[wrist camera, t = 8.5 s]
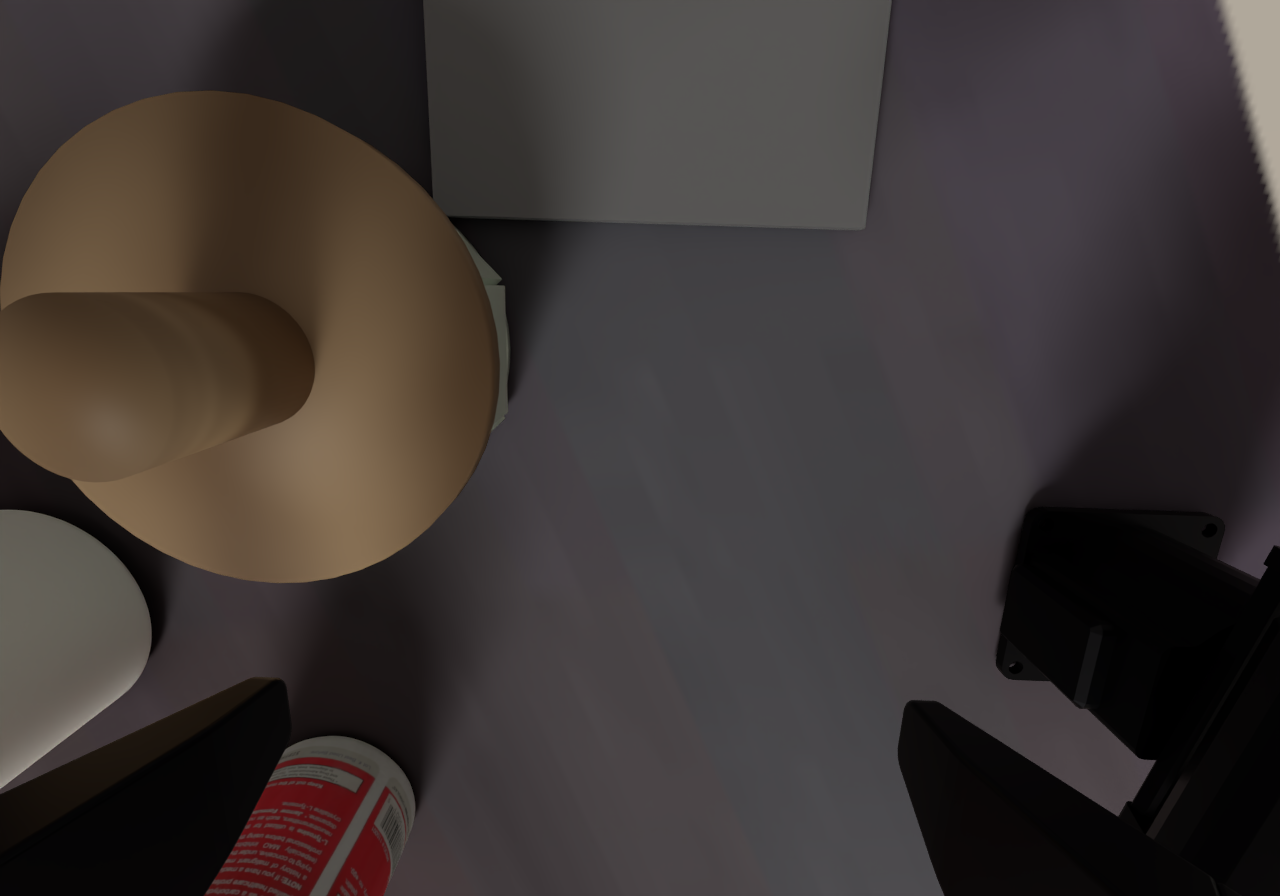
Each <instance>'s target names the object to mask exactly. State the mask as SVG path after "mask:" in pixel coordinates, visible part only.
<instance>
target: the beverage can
mask: <svg viewBox="0 0 1280 896" xmlns="http://www.w3.org/2000/svg"><path fill="white" fill-rule="evenodd" d="M151 640H152V629H151V620H150V615H149V611H148V607H147V604H146V601H145V599H144V596H143V594H142V592H141V590H140V588H139V586H138V584H137V582H136V581H135V579H134V578H133V576H132V575H131V573H130V572H129V570H128V569H127V568H126V567H125V565H124V564H123V563H122V562H121V561H120V560H119V559H118V557H117V556H116V555H115V554H114V553H113V552H112V551H110V550H109V549H108V548H107V547H106V546H105V545H103V544H102V543H101V542H100V541H98V540H97V539H96V538H94V537H93V536H91V535H90V534H88V533H86V532H85V531H83V530H81V529H79V528H78V527H76V526H74V525H72V524H70V523H67V522H65V521H63V520H60V519H57V518H55V517H52V516H48V515H45V514H41V513H36V512H31V511H23V510H0V789H1V788H2V787H3V786H5V785H6V784H7V783H8V782H10V781H11V780H12V779H14V778H15V777H16V776H18V775H19V774H20V773H21V772H23V771H24V770H25V769H27V768H28V767H29V766H31V765H32V764H33V763H35V762H36V761H37V760H38V759H40V758H41V757H42V756H44V755H45V754H46V753H48V752H49V751H50V750H51V749H53V748H54V747H55V746H57V745H58V744H59V743H61V742H62V741H63V740H65V739H66V738H67V737H68V736H70V735H71V734H72V733H74V732H75V731H76V730H78V729H79V728H80V727H81V726H83V725H84V724H85V723H87V722H88V721H89V720H91V719H92V718H93V717H95V716H96V715H97V714H98V713H100V712H101V711H102V710H104V709H105V708H106V707H108V706H109V705H110V704H111V703H113V702H114V701H115V700H117V699H118V698H119V697H121V696H122V695H123V694H124V693H125V692H127V691H128V690H129V689H130V688H131V687H132V686H133V685H134V683H135V682H136V681H137V679H138V678H139V677H140V675H141V673H142V671H143V669H144V667H145V665H146V663H147V660H148V657H149V653H150V648H151Z"/></svg>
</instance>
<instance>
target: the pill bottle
mask: <svg viewBox="0 0 1280 896" xmlns="http://www.w3.org/2000/svg"><path fill="white" fill-rule="evenodd" d="M414 818H415V799H414V794H413V790H412V787H411V785H410V782H409V780H408V779H407V777H406V775H405V774H404V772H403V771H402V769H401V768H400V767H399V766H398V765H397V764H396V763H395V762H394V761H393V760H392V759H391V758H390V757H389V756H387V755H386V754H385V753H383V752H382V751H380V750H379V749H377V748H375V747H374V746H372V745H370V744H367V743H365V742H363V741H360V740H357V739H354V738H349V737H344V736H323V737H316V738H311V739H307V740H304V741H301V742H298V743H296V744H294V745H292V746H290V747H288V748H287V749H285V751H284V753H283V755H282V757H281V759H280V761H279V762H278V764H277V766H276V768H275V770H274V772H273V774H272V776H271V778H270V780H269V782H268V784H267V786H266V788H265V789H264V791H263V793H262V795H261V797H260V799H259V801H258V803H257V805H256V807H255V809H254V811H253V813H252V815H251V816H250V818H249V820H248V822H247V824H246V826H245V828H244V830H243V832H242V834H241V836H240V837H239V839H238V841H237V843H236V845H235V846H234V848H233V850H232V852H231V853H230V855H229V857H228V858H227V860H226V862H225V863H224V865H223V867H222V868H221V870H220V872H219V873H218V875H217V876H216V878H215V879H214V881H213V883H212V884H211V886H210V887H209V889H208V890H207V892H206V894H205V895H204V896H383V895H384V893H385V891H386V888H387V886H388V884H389V881H390V879H391V877H392V875H393V872H394V870H395V868H396V866H397V863H398V861H399V858H400V856H401V854H402V851H403V849H404V847H405V844H406V842H407V839H408V837H409V834H410V832H411V829H412V826H413V822H414Z"/></svg>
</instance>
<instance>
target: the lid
mask: <svg viewBox="0 0 1280 896" xmlns="http://www.w3.org/2000/svg"><path fill="white" fill-rule="evenodd" d="M0 303H1V311H0V430H1V431H2V432H3V434H4V435H5V436H6V437H7V439H8V440H9V441H10V442H11V443H12V444H13V445H14V446H15V447H16V448H17V449H18V450H19V451H20V452H22V453H23V454H24V455H25V456H26V457H28V458H29V459H31V460H32V461H33V462H35V463H36V464H38V465H40V466H41V467H43V468H45V469H47V470H49V471H51V472H53V473H55V474H58V475H60V476H63V477H66V478H69V479H71V480H72V481H73V482H74V483H75V484H76V485H77V486H78V487H79V489H80V490H81V491H82V492H83V493H84V494H85V495H86V496H87V497H88V498H89V499H90V500H91V501H92V502H93V503H94V504H95V505H97V506H98V507H99V508H100V509H101V510H102V511H103V512H104V513H105V514H106V515H108V516H109V517H110V518H111V519H113V520H114V521H115V522H117V523H118V524H119V525H121V526H122V527H123V528H125V529H126V530H127V531H129V532H130V533H132V534H133V535H134V536H136V537H137V538H139V539H141V540H142V541H144V542H146V543H148V544H149V545H151V546H153V547H154V548H156V549H158V550H160V551H161V552H163V553H165V554H168V555H170V556H172V557H174V558H176V559H179V560H181V561H183V562H185V563H187V564H190V565H192V566H195V567H198V568H202V569H205V570H208V571H211V572H214V573H217V574H220V575H225V576H230V577H235V578H239V579H244V580H250V581H261V582H272V583H295V582H310V581H317V580H323V579H330V578H335V577H338V576H342V575H345V574H349V573H352V572H356V571H359V570H362V569H364V568H366V567H368V566H371V565H373V564H375V563H377V562H380V561H382V560H384V559H386V558H388V557H389V556H391V555H393V554H394V553H396V552H397V551H399V550H401V549H402V548H404V547H405V546H407V545H409V544H410V543H411V542H412V541H413V540H415V539H416V538H417V537H418V536H419V535H421V534H422V533H423V532H424V531H425V530H427V529H428V528H429V527H430V526H431V525H432V524H433V523H434V522H435V521H436V519H437V518H438V517H439V516H440V515H441V514H442V513H443V512H444V511H445V510H446V509H447V507H448V506H449V505H450V504H451V503H452V502H453V501H454V500H455V499H456V497H457V496H458V495H459V494H460V493H461V491H462V490H463V488H464V487H465V485H466V484H467V482H468V481H469V479H470V478H471V476H472V475H473V473H474V471H475V469H476V467H477V465H478V463H479V461H480V459H481V457H482V455H483V453H484V451H485V448H486V446H487V443H488V439H489V436H490V433H491V430H492V427H493V424H494V420H495V414H496V408H497V402H498V396H499V381H500V357H499V346H498V336H497V330H496V325H495V321H494V317H493V312H492V308H491V303H490V300H489V297H488V295H487V292H486V289H485V286H484V284H483V281H482V278H481V275H480V272H479V270H478V268H477V266H476V264H475V262H474V260H473V258H472V256H471V254H470V252H469V250H468V248H467V246H466V245H465V243H464V241H463V239H462V238H461V236H460V235H459V233H458V232H457V230H456V229H455V227H454V226H453V224H452V223H451V221H450V220H449V218H448V217H447V215H446V214H445V213H444V212H443V210H442V209H441V208H440V207H439V206H438V205H437V203H436V202H435V201H434V200H433V199H432V198H431V196H430V195H429V194H428V193H427V192H426V191H425V189H424V188H423V187H422V186H421V185H420V184H418V183H417V182H416V181H415V180H414V179H413V178H412V177H411V176H410V175H409V174H408V173H406V172H405V171H404V170H403V169H402V168H401V167H400V166H399V165H398V164H396V163H395V162H394V161H392V160H391V159H389V158H388V157H387V156H385V155H384V154H382V153H381V152H380V151H378V150H377V149H375V148H374V147H373V146H371V145H370V144H368V143H366V142H364V141H363V140H361V139H359V138H357V137H355V136H353V135H352V134H350V133H348V132H346V131H344V130H342V129H341V128H339V127H337V126H335V125H333V124H331V123H329V122H327V121H325V120H324V119H322V118H320V117H318V116H316V115H313V114H311V113H308V112H306V111H303V110H300V109H298V108H295V107H293V106H290V105H288V104H285V103H282V102H278V101H274V100H270V99H266V98H262V97H258V96H254V95H249V94H243V93H233V92H222V91H212V90H210V91H190V92H175V93H170V94H165V95H160V96H155V97H150V98H146V99H142V100H139V101H137V102H134V103H131V104H129V105H126V106H123V107H121V108H118V109H116V110H113V111H111V112H109V113H108V114H106V115H104V116H102V117H101V118H99V119H97V120H96V121H94V122H92V123H90V124H89V125H87V126H85V127H84V128H83V129H81V130H80V131H79V132H78V133H77V134H75V135H74V136H73V137H72V138H70V139H69V140H68V141H67V142H66V143H64V144H63V145H62V146H61V147H60V148H59V149H58V150H57V151H56V152H55V154H54V155H53V156H52V157H51V158H50V159H49V160H48V162H47V163H46V164H45V165H44V166H43V167H42V169H41V170H40V171H39V172H38V174H37V176H36V177H35V179H34V181H33V182H32V184H31V185H30V187H29V189H28V190H27V192H26V194H25V195H24V197H23V199H22V201H21V204H20V206H19V208H18V211H17V213H16V216H15V218H14V220H13V223H12V225H11V228H10V232H9V236H8V240H7V244H6V248H5V252H4V256H3V265H2V275H1V285H0Z"/></svg>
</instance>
